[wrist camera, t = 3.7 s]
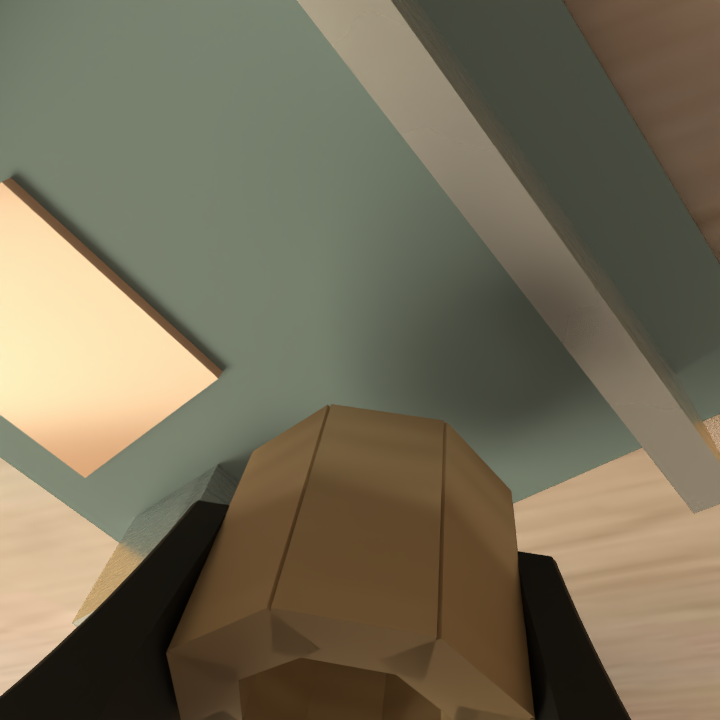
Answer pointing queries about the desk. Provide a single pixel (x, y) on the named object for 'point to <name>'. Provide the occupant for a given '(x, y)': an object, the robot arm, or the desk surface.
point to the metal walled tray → (504, 239)
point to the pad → (81, 344)
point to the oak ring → (359, 582)
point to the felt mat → (336, 232)
